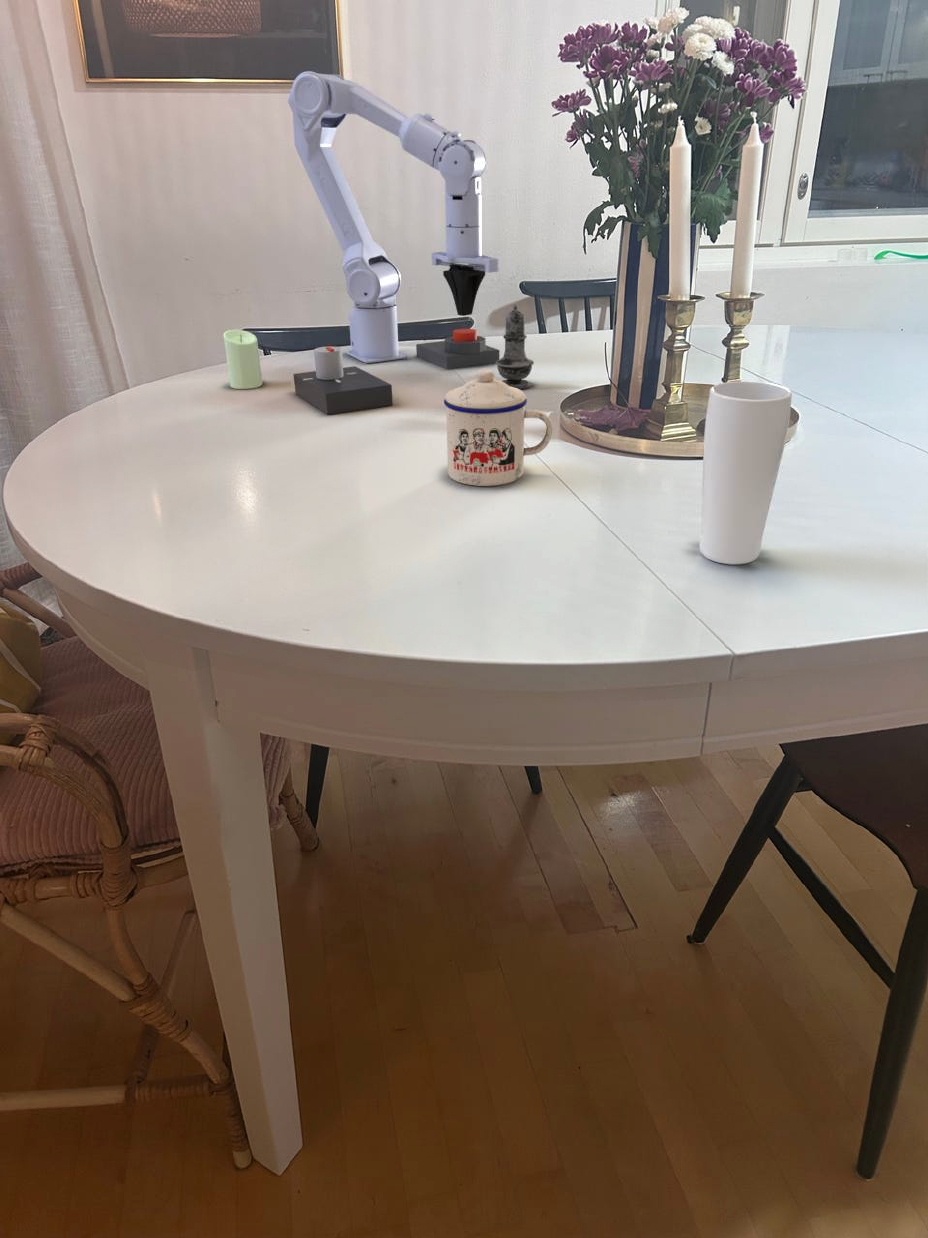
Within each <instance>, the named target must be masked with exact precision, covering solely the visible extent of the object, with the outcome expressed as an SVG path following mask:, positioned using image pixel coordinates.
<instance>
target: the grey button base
mask: <svg viewBox="0 0 928 1238" xmlns="http://www.w3.org/2000/svg"><path fill="white" fill-rule="evenodd" d="M486 339H487V338H486V337H484V336H481V335H477V341H471V342H458V341H453V335H451V336H448V337H445V338H444V340H440V341H431V342H423V343H416V344H415V346H416V347H415V349H416V357H417V358H419V359H421V360H423V361H426V362H428V363H431V364H433V365H435V366H437V367H440V368H442V369H444V370H457V369H462V368H463V369H464V368H473V367H479V366H486V365H494V364H496V361H497V360H500V349H498V348H495V347H492V346H489V345H487V340H486Z"/></svg>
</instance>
